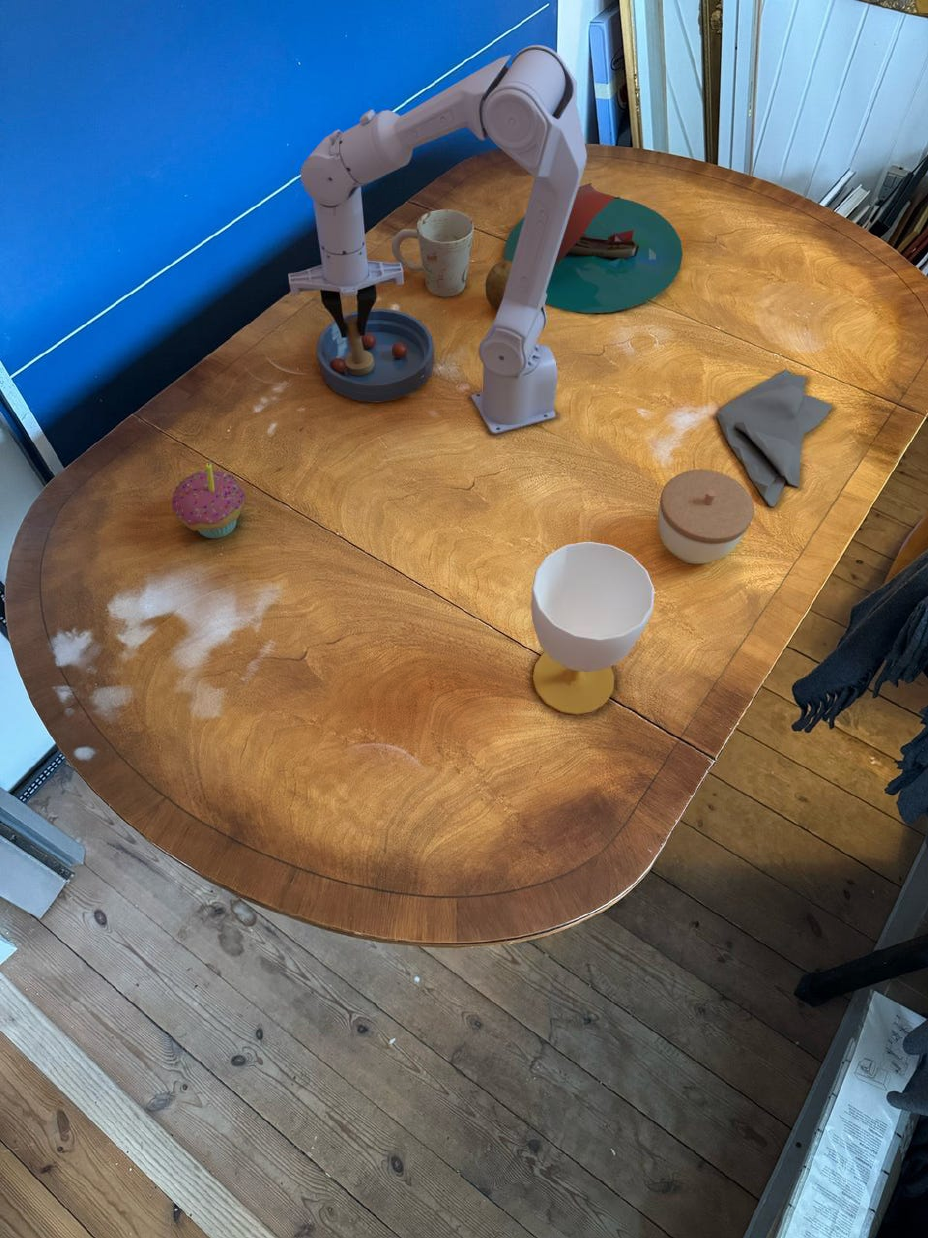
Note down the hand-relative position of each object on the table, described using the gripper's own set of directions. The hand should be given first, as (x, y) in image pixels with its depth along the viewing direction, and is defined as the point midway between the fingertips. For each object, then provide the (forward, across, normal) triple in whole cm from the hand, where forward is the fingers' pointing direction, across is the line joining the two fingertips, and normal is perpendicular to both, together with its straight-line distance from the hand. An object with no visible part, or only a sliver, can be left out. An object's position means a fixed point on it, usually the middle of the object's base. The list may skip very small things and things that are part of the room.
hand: (352, 331), depth 121 cm
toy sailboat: (+7, +40, +20) cm, 45 cm away
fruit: (+7, +24, +10) cm, 26 cm away
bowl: (+7, +3, +1) cm, 7 cm away
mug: (+7, +14, +18) cm, 24 cm away
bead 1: (+5, -3, 0) cm, 6 cm away
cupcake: (+7, -20, -25) cm, 33 cm away
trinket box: (+7, +37, -38) cm, 54 cm away
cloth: (+7, +53, -21) cm, 58 cm away
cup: (+7, +18, -54) cm, 58 cm away
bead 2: (+5, +2, +4) cm, 7 cm away
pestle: (+6, +1, 0) cm, 6 cm away
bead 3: (+5, +6, +1) cm, 8 cm away
